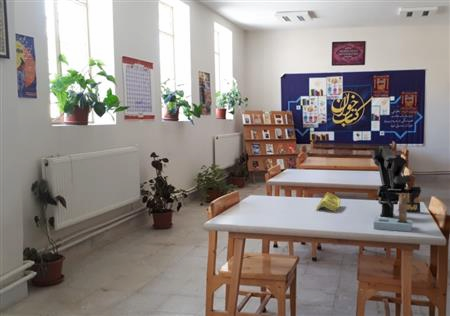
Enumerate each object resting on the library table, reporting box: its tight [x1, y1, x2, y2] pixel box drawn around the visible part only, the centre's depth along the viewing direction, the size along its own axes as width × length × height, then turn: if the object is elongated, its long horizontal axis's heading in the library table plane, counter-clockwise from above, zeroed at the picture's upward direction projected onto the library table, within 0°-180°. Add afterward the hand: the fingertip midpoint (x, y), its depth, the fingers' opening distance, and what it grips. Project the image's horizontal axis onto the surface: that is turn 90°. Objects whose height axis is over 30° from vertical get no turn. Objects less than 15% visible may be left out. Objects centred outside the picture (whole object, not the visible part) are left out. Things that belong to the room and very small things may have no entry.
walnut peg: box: [398, 196, 408, 223], centre depth 221 cm, size 3×3×14 cm
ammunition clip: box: [397, 194, 421, 213], centre depth 258 cm, size 11×2×12 cm, turn 79°
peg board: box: [373, 217, 413, 232], centre depth 223 cm, size 10×16×3 cm, turn 68°
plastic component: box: [315, 192, 342, 213], centre depth 270 cm, size 20×7×10 cm
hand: (401, 207), depth 222 cm, fingers open, 9 cm apart
